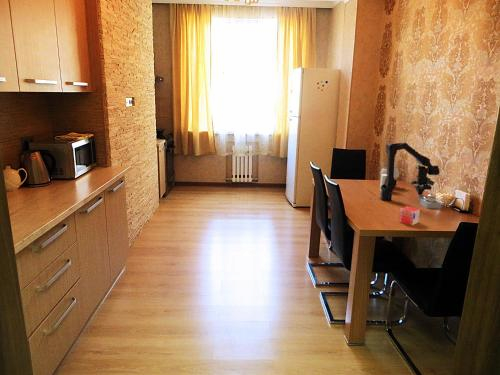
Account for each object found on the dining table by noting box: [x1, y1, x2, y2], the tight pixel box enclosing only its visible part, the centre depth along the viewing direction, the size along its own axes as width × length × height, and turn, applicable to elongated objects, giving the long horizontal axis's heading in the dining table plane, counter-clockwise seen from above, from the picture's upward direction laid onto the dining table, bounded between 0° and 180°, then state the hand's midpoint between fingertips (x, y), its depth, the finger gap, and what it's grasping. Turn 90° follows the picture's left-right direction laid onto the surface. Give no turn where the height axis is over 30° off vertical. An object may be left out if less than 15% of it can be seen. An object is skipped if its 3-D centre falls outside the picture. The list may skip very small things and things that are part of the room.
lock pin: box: [417, 193, 428, 202], centre depth 250 cm, size 3×11×3 cm, turn 0°
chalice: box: [380, 166, 400, 179], centre depth 297 cm, size 14×14×15 cm
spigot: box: [427, 193, 436, 203], centre depth 240 cm, size 5×5×8 cm
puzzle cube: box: [398, 206, 421, 226], centre depth 207 cm, size 8×8×8 cm
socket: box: [419, 199, 442, 209], centre depth 242 cm, size 9×12×4 cm
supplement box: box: [379, 173, 387, 192], centre depth 283 cm, size 7×7×13 cm
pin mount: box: [417, 195, 428, 203], centre depth 250 cm, size 5×5×4 cm
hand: (419, 196), depth 256 cm, fingers closed
